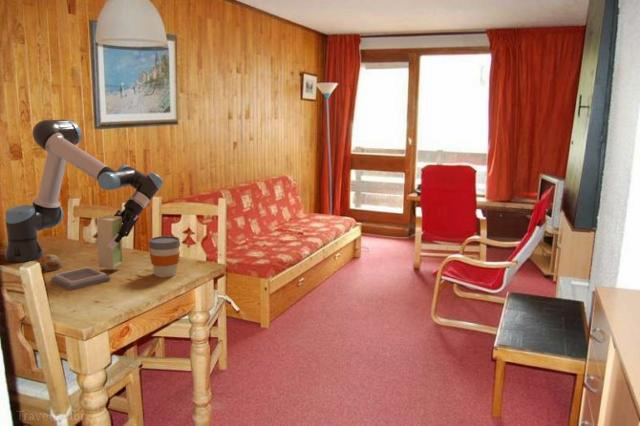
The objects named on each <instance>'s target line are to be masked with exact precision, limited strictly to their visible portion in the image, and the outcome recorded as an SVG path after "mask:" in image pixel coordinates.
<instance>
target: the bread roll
mask: <svg viewBox="0 0 640 426" xmlns="http://www.w3.org/2000/svg"><path fill="white" fill-rule="evenodd" d="M36 262H39V263H40V265H41V268H42V271H44V272H46V273H47V272H54V271H58V270H60V269H61V268H63V265H62V262H61V259H60V257H58V256H57V255H55V254H50V253H49V254H43V256H42V257H41V258H39V259H36ZM44 272H43V273H44Z"/></svg>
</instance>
